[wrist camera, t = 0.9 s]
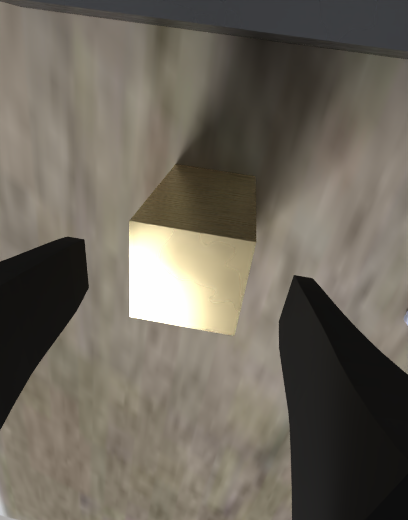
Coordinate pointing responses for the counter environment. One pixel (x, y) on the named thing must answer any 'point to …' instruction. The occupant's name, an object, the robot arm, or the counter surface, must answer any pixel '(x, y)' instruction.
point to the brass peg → (193, 249)
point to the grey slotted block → (264, 19)
